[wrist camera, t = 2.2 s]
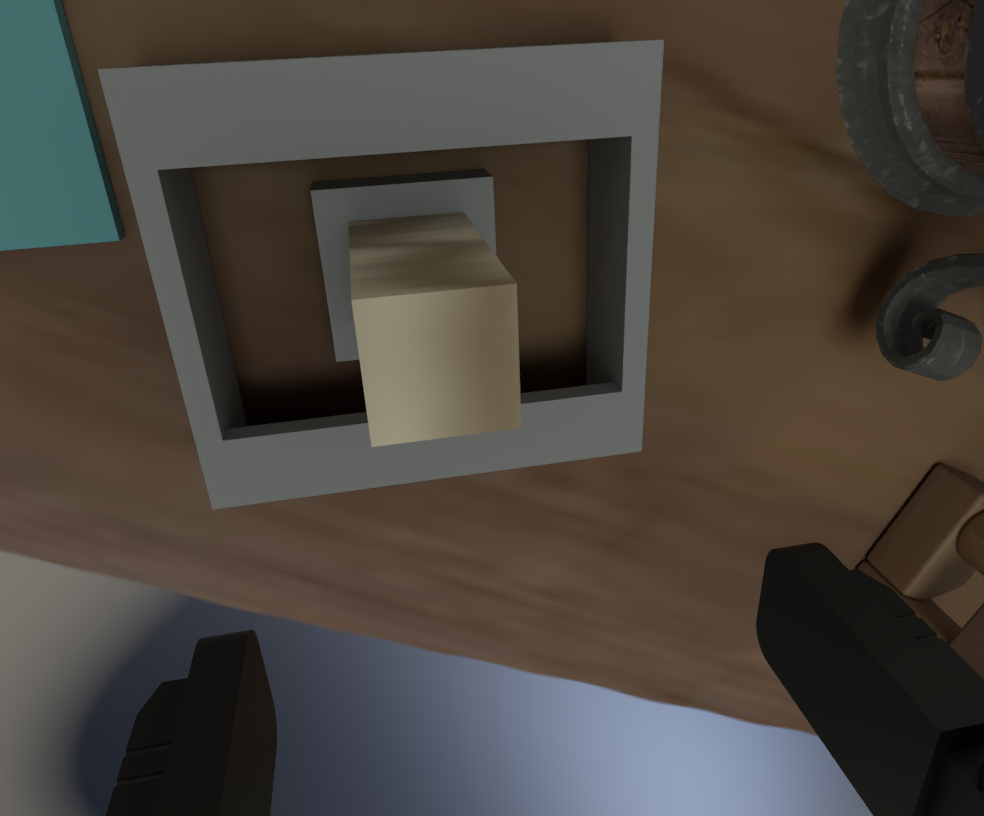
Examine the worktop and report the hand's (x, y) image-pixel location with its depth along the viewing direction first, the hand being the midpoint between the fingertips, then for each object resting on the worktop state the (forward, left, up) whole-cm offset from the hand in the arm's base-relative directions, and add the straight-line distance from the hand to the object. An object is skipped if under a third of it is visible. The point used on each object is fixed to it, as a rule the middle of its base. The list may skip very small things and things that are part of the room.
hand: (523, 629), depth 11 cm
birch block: (0, 0, -21) cm, 21 cm away
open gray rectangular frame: (0, 0, -23) cm, 23 cm away
